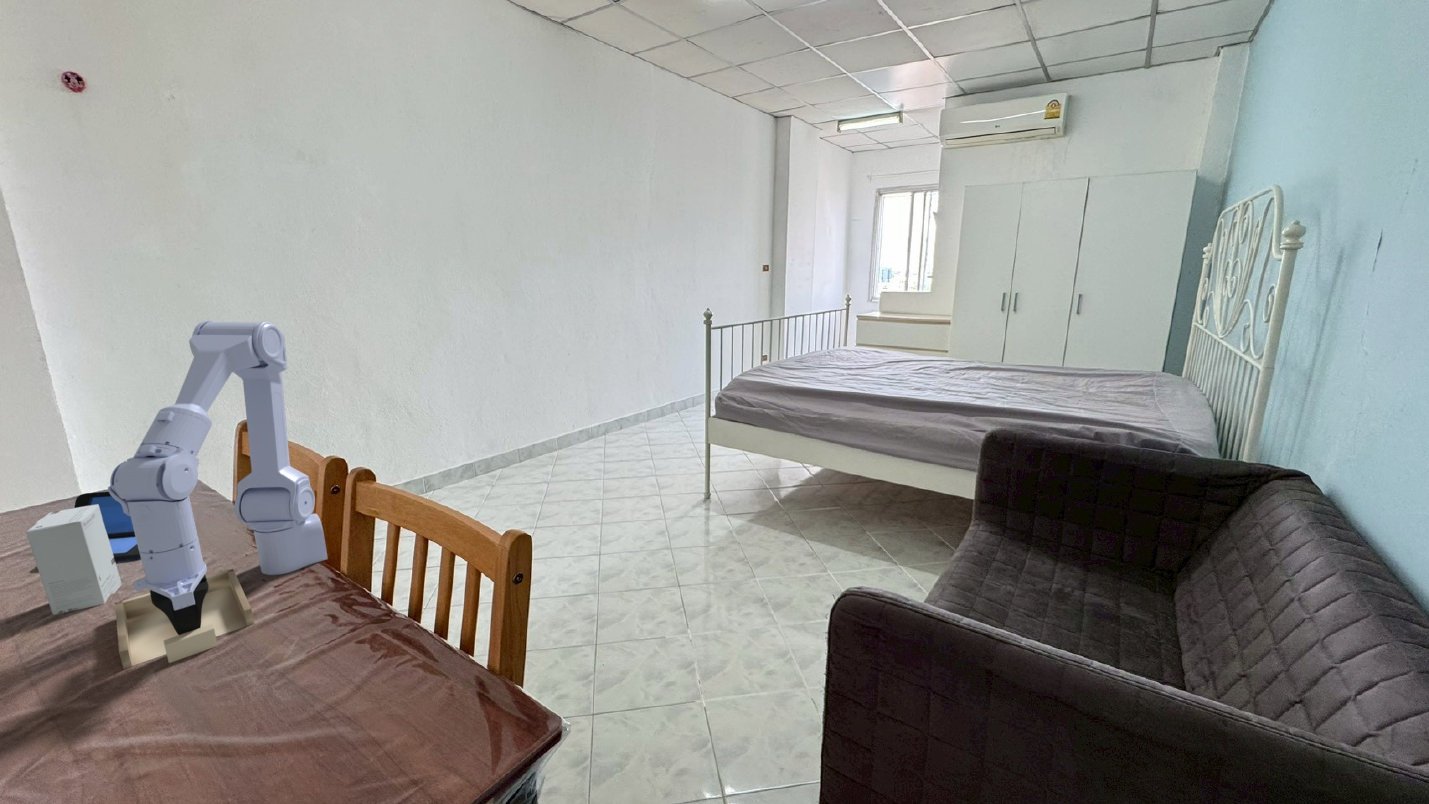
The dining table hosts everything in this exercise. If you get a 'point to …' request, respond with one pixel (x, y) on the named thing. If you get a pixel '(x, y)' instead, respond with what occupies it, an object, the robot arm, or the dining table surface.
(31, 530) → the skincare box
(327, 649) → the dining table surface
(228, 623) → the birch box
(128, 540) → the handheld game console
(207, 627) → the cover plate
